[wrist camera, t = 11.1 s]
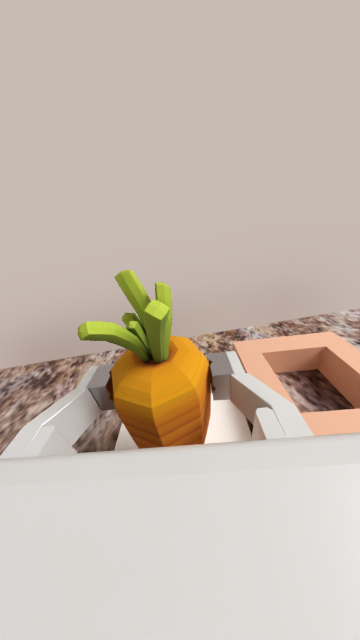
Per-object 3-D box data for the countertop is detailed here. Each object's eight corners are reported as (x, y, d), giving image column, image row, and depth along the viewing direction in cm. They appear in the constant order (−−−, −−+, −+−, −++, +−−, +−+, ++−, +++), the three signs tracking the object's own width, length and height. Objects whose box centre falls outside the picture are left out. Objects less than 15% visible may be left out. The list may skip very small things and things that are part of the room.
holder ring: (277, 476, 13) (285, 453, 11) (232, 362, 23) (232, 342, 21) (451, 465, 12) (488, 440, 10) (323, 353, 22) (331, 331, 21)
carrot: (224, 508, 11) (217, 285, 4) (148, 513, 11) (10, 313, 4) (210, 428, 15) (195, 254, 8) (156, 433, 16) (96, 269, 8)
